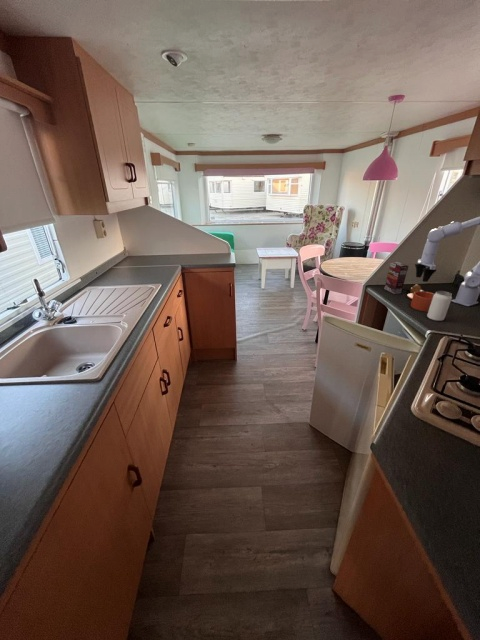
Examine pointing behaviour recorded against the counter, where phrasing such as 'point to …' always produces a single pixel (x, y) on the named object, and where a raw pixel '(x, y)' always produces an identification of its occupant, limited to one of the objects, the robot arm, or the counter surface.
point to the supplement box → (396, 277)
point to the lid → (413, 294)
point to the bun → (415, 288)
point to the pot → (422, 301)
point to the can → (439, 305)
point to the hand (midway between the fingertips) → (421, 279)
